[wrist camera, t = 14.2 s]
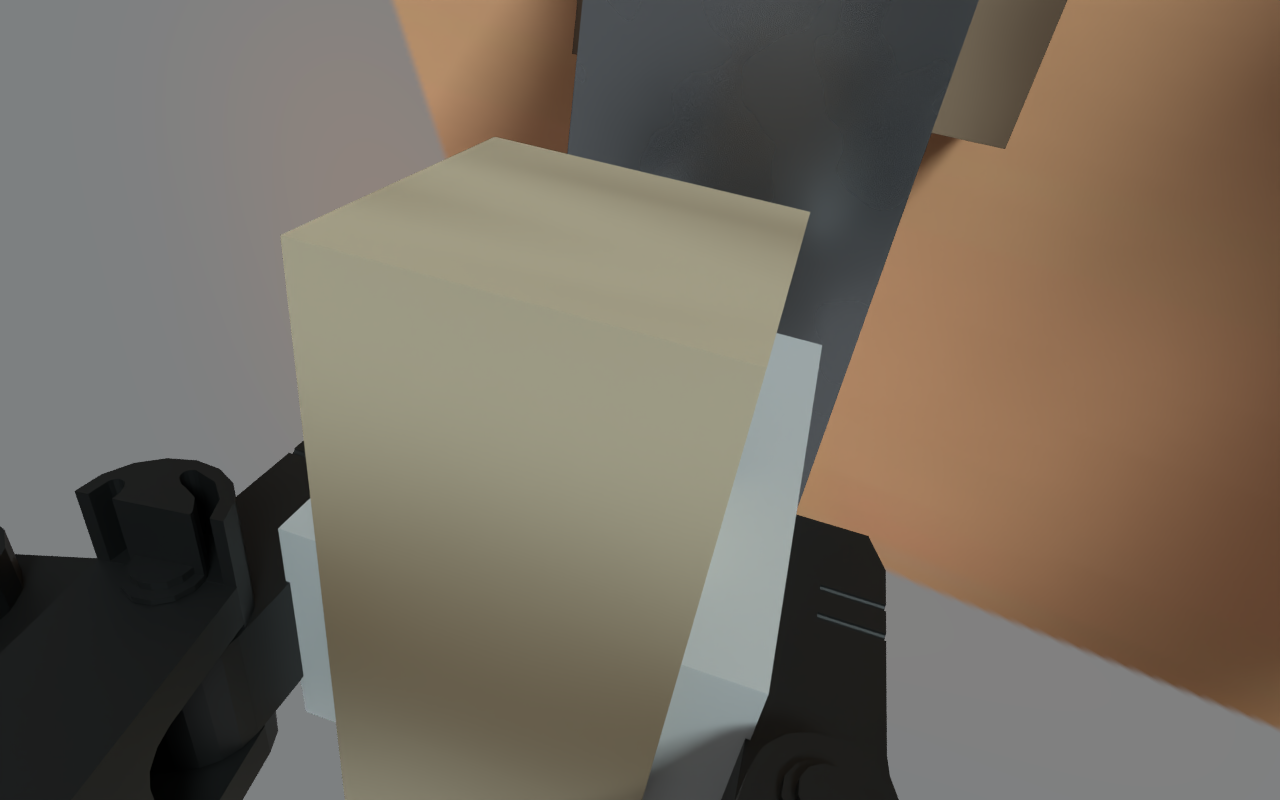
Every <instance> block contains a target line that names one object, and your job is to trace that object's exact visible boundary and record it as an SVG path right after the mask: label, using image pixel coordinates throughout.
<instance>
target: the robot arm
mask: <svg viewBox="0 0 1280 800" xmlns="http://www.w3.org/2000/svg"><path fill="white" fill-rule="evenodd" d="M821 350H822V345H820V344H816V343H812V342H809V341H805V340H801V339H797V338H793V337H790V336H786V335H782V334H778V333H776V337H775V340H774V344H773V347H772V351H771V355H770V358H769V362H768V365H767V369H766V372H765V376H764V379H763V383H762V386H761V390H760V393H759V397H758V400H757V404H756V407H755V410H754V414H753V417H752V421H751V424H750V428H749V431H748V435H747V438H746V442H745V445H744V449H743V452H742V456H741V459H740V462H739V466H738V469H737V473H736V476H735V480H734V483H733V487H732V490H731V494H730V497H729V501H728V504H727V508H726V511H725V514H724V518H723V521H722V525H721V528H720V532H719V535H718V539H717V542H716V546H715V549H714V553H713V556H712V560H711V563H710V566H709V570H708V573H707V577H706V580H705V584H704V587H703V591H702V594H701V598H700V601H699V605H698V608H697V612H696V615H695V618H694V622H693V625H692V629H691V632H690V636H689V639H688V643H687V646H686V650H685V653H684V657H683V660H682V664H681V667H680V670H679V674H678V677H677V681H676V684H675V688H674V691H673V695H672V698H671V702H670V705H669V709H668V712H667V716H666V719H665V722H664V726H663V729H662V733H661V736H660V740H659V743H658V747H657V750H656V754H655V757H654V761H653V764H652V768H651V771H650V774H649V778H648V781H647V785H646V788H645V792H644V795H643V799H642V800H899V799H898V797H897V794H896V792H895V789H894V786H893V784H892V781H891V778H890V775H889V767H888V760H887V726H886V725H887V721H886V720H887V719H886V718H887V716H886V715H887V714H886V641H884V639H885V635H886V612H885V611H884V609H885V605H886V577H885V576H886V575H885V574H886V570H885V568H884V566H883V564H882V562H881V560H880V558H879V556H878V555H877V553H876V551H875V549H874V547H873V545H872V543H871V541H870V539H869V537H868V536H866V535H863V534H859V533H856V532H853V531H849V530H846V529H843V528H839V527H836V526H833V525H829V524H826V523H823V522H819V521H816V520H813V519H809V518H806V517H803V516H799V515H796V512H797V506H798V499H799V493H800V486H801V480H802V473H803V467H804V460H805V454H806V447H807V441H808V434H809V428H810V421H811V415H812V408H813V402H814V395H815V389H816V382H817V376H818V369H819V363H820V356H821ZM75 493H76V496H77V499H78V502H79V505H80V508H81V511H82V514H83V517H84V520H85V523H86V526H87V529H88V532H89V534H90V537H91V540H92V544H93V547H94V550H95V552H96V555H97V558H77V557H58V556H38V555H19V554H18V555H17V554H14V552H13V549H12V547H11V545H10V542H9V540H8V538H7V535H6V533H5V530H3V528H2V527H0V800H243V798H244V796H245V795H246V793H247V791H248V790H249V787H250V786H251V784H252V783H253V781H254V779H255V777H256V776H257V774H258V772H259V771H260V769H261V767H262V766H263V763H264V762H265V760H266V759H267V757H268V755H269V753H270V752H271V749H272V746H273V743H274V740H275V737H276V735H277V732H278V727H277V718H276V710H277V709H278V707H279V706H280V705H281V704H282V702H283V701H284V700H285V699H286V697H287V696H288V695H289V693H290V692H291V691H292V690H293V689H294V688H295V686H296V685H297V684H298V682H299V681H300V680H301V684H302V691H303V698H304V704H305V711H306V712H309V713H312V714H314V715H317V716H320V717H322V718H325V719H328V720H330V721H333V722H336V717H335V708H334V699H333V691H332V682H331V673H330V664H329V656H328V647H327V638H326V630H325V621H324V612H323V603H322V595H321V586H320V577H319V568H318V560H317V551H316V542H315V533H314V525H313V516H312V507H311V499H310V490H309V481H308V472H307V464H306V455H305V446H304V441H303V442H302V443H300V444H299V445H298V446H297V447H296V448H295V450H294V452H293V454H291V453H288V454H287V455H286V456H285V457H284V458H282V459H281V460H280V461H279V462H277V463H276V464H275V465H274V466H273V467H272V468H270V469H269V470H268V471H267V472H266V473H264V474H263V475H262V476H261V477H259V478H258V479H257V480H256V481H255V482H253V483H252V484H251V485H250V486H249V487H247V488H246V489H245V490H244V491H243V492H241V493H240V494H239V495H238V496H237V497H236V496H235V490H234V485H233V482H232V481H231V480H230V479H229V478H228V477H227V476H226V475H225V474H224V473H223V472H222V471H221V470H220V469H218V468H215V467H213V466H210V465H208V464H205V463H202V462H200V461H197V460H183V459H182V460H181V459H169V458H166V459H159V460H152V461H145V462H138V463H133V464H130V465H127V466H124V467H121V468H119V469H116V470H113V471H110V472H107V473H104V474H102V475H100V476H98V477H97V478H95V479H93V480H92V481H90V482H89V483H87V484H85V485H84V486H82V487H81V488H79V489H77V490H76V491H75Z"/></svg>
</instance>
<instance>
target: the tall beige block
mask: <svg viewBox="0 0 1280 800" xmlns="http://www.w3.org/2000/svg"><path fill="white" fill-rule="evenodd" d="M978 1H979V0H583V2H582V12H581V22H580V32H579V42H578V52H577V62H576V72H575V82H574V92H573V102H572V112H571V122H570V132H569V142H568V153H567V154H565V153H561V152H557V151H553V150H548V149H544V148H540V147H536V146H532V145H527V144H523V143H519V142H515V141H511V140H507V139H502V138H498V137H493V138H491V139H489V140H487V141H485V142H482V143H480V144H478V145H476V146H474V147H471V148H469V149H467V150H465V151H463V152H461V153H458V154H456V155H454V156H452V157H450V158H447V159H445V160H443V161H441V162H439V163H437V164H435V165H432V166H430V167H428V168H426V169H424V170H421V171H419V172H417V173H415V174H413V175H411V176H408V177H406V178H404V179H402V180H400V181H397V182H395V183H393V184H391V185H389V186H387V187H384V188H382V189H380V190H378V191H376V192H373V193H371V194H369V195H367V196H365V197H363V198H361V199H358V200H356V201H354V202H352V203H350V204H347V205H345V206H343V207H341V208H339V209H336V210H334V211H332V212H330V213H328V214H325V215H323V216H321V217H319V218H317V219H314V220H313V221H310V222H308V223H306V224H304V225H301V226H299V227H297V228H295V229H293V230H291V231H289V232H286V233H284V234H282V235H280V236H281V245H282V254H283V262H284V271H285V280H286V289H287V298H288V306H289V315H290V324H291V333H292V341H293V350H294V358H295V367H296V376H297V384H298V394H299V403H300V411H301V419H302V428H303V437H304V446H305V455H306V464H307V472H308V481H309V490H310V499H311V507H312V516H313V525H314V533H315V542H316V551H317V560H318V568H319V577H320V586H321V595H322V603H323V612H324V621H325V630H326V638H327V647H328V656H329V664H330V673H331V682H332V691H333V699H334V708H335V717H336V725H337V733H338V743H339V751H340V760H341V769H342V778H343V786H344V795H345V800H642V799H643V795H644V792H645V788H646V785H647V781H648V778H649V774H650V771H651V768H652V764H653V761H654V757H655V754H656V750H657V747H658V743H659V740H660V736H661V733H662V729H663V726H664V722H665V719H666V716H667V712H668V709H669V705H670V702H671V698H672V695H673V691H674V688H675V684H676V681H677V677H678V674H679V670H680V667H681V664H682V660H683V657H684V653H685V650H686V646H687V643H688V639H689V636H690V632H691V629H692V625H693V622H694V618H695V615H696V612H697V608H698V605H699V601H700V598H701V594H702V591H703V587H704V584H705V580H706V577H707V573H708V570H709V566H710V563H711V560H712V556H713V553H714V549H715V546H716V542H717V539H718V535H719V532H720V528H721V525H722V521H723V518H724V514H725V511H726V508H727V504H728V501H729V497H730V494H731V490H732V487H733V483H734V480H735V476H736V473H737V469H738V466H739V462H740V459H741V456H742V452H743V449H744V445H745V442H746V438H747V435H748V431H749V428H750V424H751V421H752V417H753V414H754V410H755V407H756V404H757V400H758V397H759V393H760V390H761V386H762V383H763V379H764V376H765V372H766V369H767V365H768V362H769V358H770V355H771V351H772V347H773V344H774V340H775V337H776V333H778V334H782V335H786V336H790V337H793V338H797V339H801V340H805V341H809V342H812V343H816V344H820V345H822V350H821V356H820V363H819V369H818V376H817V382H816V389H815V395H814V402H813V408H812V415H811V421H810V428H809V434H808V441H807V447H806V454H805V460H804V467H803V473H802V480H801V486H800V493H799V499H798V505H799V502H800V499H801V496H802V494H803V491H804V488H805V485H806V482H807V480H808V477H809V474H810V471H811V468H812V466H813V463H814V460H815V457H816V454H817V452H818V449H819V446H820V443H821V440H822V438H823V435H824V432H825V429H826V426H827V424H828V421H829V418H830V415H831V412H832V410H833V407H834V404H835V401H836V398H837V396H838V393H839V390H840V387H841V384H842V382H843V379H844V376H845V373H846V370H847V368H848V365H849V362H850V359H851V356H852V354H853V351H854V348H855V345H856V342H857V340H858V337H859V334H860V331H861V328H862V326H863V323H864V320H865V317H866V314H867V312H868V309H869V306H870V303H871V300H872V298H873V295H874V292H875V289H876V287H877V284H878V281H879V278H880V275H881V273H882V270H883V267H884V264H885V261H886V259H887V256H888V253H889V250H890V247H891V245H892V242H893V239H894V236H895V233H896V231H897V228H898V225H899V222H900V219H901V217H902V214H903V211H904V208H905V205H906V203H907V200H908V197H909V194H910V191H911V189H912V186H913V183H914V180H915V177H916V175H917V172H918V169H919V166H920V163H921V161H922V158H923V155H924V152H925V149H926V147H927V144H928V141H929V138H930V135H931V133H932V130H933V127H934V124H935V121H936V119H937V116H938V113H939V110H940V107H941V105H942V102H943V99H944V96H945V93H946V91H947V88H948V85H949V82H950V79H951V77H952V74H953V71H954V68H955V65H956V63H957V60H958V57H959V54H960V52H961V49H962V46H963V43H964V40H965V38H966V35H967V32H968V29H969V26H970V24H971V21H972V18H973V15H974V12H975V10H976V7H977V4H978ZM797 508H798V506H797Z"/></svg>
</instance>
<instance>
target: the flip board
mask: <svg viewBox="0 0 1280 800" xmlns="http://www.w3.org/2000/svg"><path fill="white" fill-rule="evenodd" d="M582 2H583V0H577V10H576V21H575V31H574V41H573V51H572V54H577V52H578V42H579V32H580V22H581V12H582ZM1066 2H1067V0H979V1H978V4H977V7H976V10H975V12H974V15H973V18H972V21H971V24H970V26H969V29H968V32H967V35H966V38H965V40H964V43H963V46H962V49H961V52H960V54H959V57H958V60H957V63H956V65H955V68H954V71H953V74H952V77H951V79H950V82H949V85H948V88H947V91H946V93H945V96H944V99H943V102H942V105H941V107H940V110H939V113H938V116H937V119H936V121H935V124H934V127H933V130H932V133H935V134H939V135H944V136H948V137H953V138H957V139H962V140H966V141H971V142H975V143H980V144H984V145H989V146H994V147H998V148H1003V149H1005V148H1006V145H1007V143H1008V141H1009V138H1010V136H1011V134H1012V131H1013V129H1014V126H1015V124H1016V122H1017V119H1018V117H1019V114H1020V112H1021V110H1022V107H1023V105H1024V102H1025V100H1026V98H1027V95H1028V93H1029V91H1030V88H1031V86H1032V83H1033V81H1034V79H1035V76H1036V74H1037V71H1038V69H1039V67H1040V64H1041V62H1042V59H1043V57H1044V55H1045V52H1046V50H1047V47H1048V45H1049V43H1050V40H1051V38H1052V36H1053V33H1054V31H1055V28H1056V26H1057V24H1058V21H1059V19H1060V16H1061V14H1062V12H1063V9H1064V7H1065V4H1066Z"/></svg>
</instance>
